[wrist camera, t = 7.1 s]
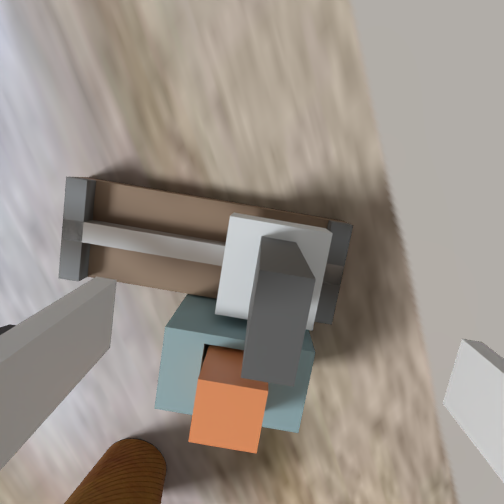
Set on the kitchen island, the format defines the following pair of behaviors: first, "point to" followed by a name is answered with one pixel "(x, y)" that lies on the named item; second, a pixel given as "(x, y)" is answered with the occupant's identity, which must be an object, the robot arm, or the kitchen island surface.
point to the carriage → (272, 290)
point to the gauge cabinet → (225, 335)
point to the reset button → (227, 403)
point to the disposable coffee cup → (124, 476)
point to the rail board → (171, 221)
